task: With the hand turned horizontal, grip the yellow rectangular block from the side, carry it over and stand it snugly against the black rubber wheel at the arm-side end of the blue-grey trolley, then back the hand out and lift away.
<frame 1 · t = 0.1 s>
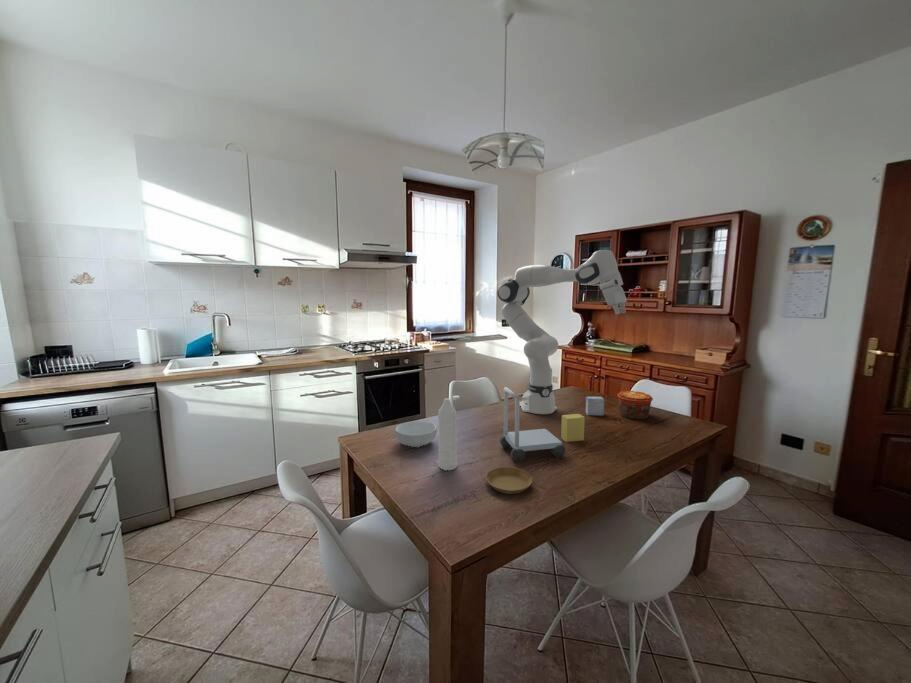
hand: (620, 313, 161), 52 cm above the table, tool tilted 20°, fingers open, 8 cm apart
cereal bowl: (416, 444, 150), on the table
medicine box: (594, 414, 184), on the table
yellow rectangular block: (572, 438, 153), on the table
water bottle: (450, 466, 130), on the table
plant saucer: (508, 485, 117), on the table
trolley: (531, 451, 141), on the table
food container: (633, 415, 181), on the table
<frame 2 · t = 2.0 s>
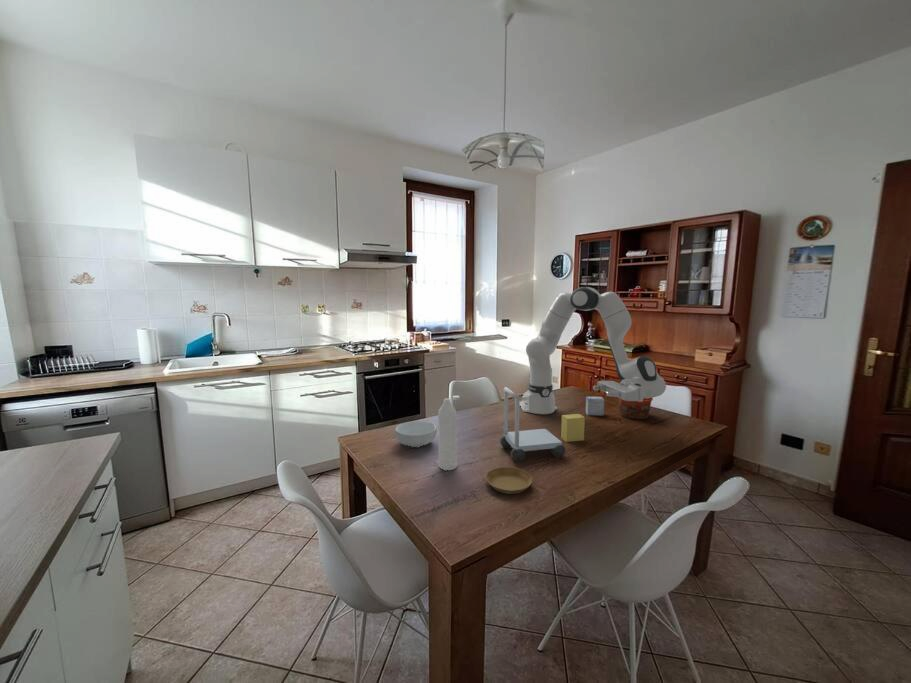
hand: (600, 391, 153), 20 cm above the table, tool horizontal, fingers open, 8 cm apart
nothing on the table moved.
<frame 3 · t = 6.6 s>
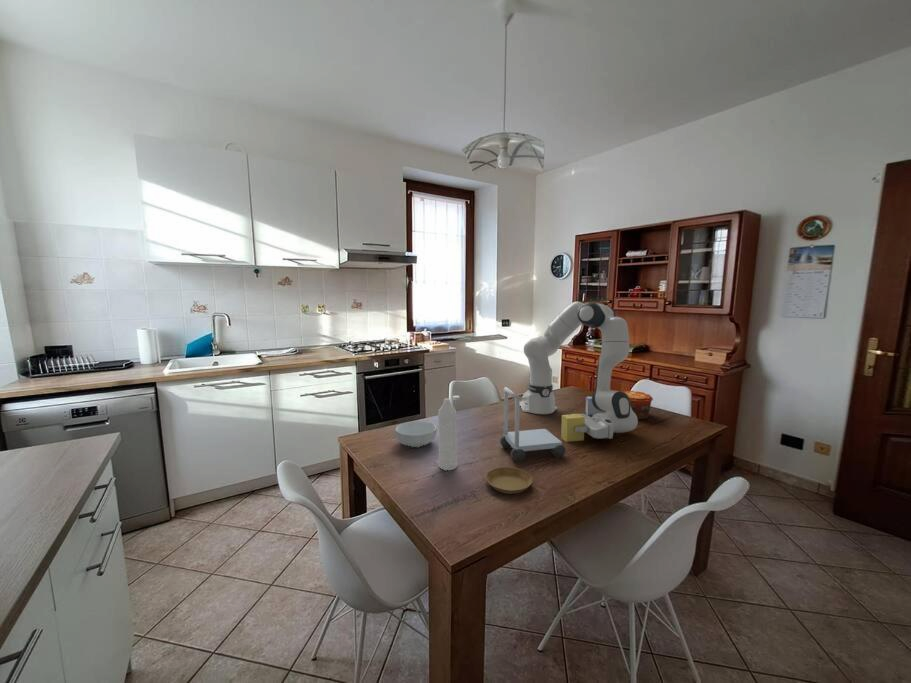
hand: (570, 426, 152), 6 cm above the table, tool horizontal, fingers closed on yellow rectangular block, 4 cm apart
yellow rectangular block: (572, 438, 153), on the table, touching gripper
everything else where it was.
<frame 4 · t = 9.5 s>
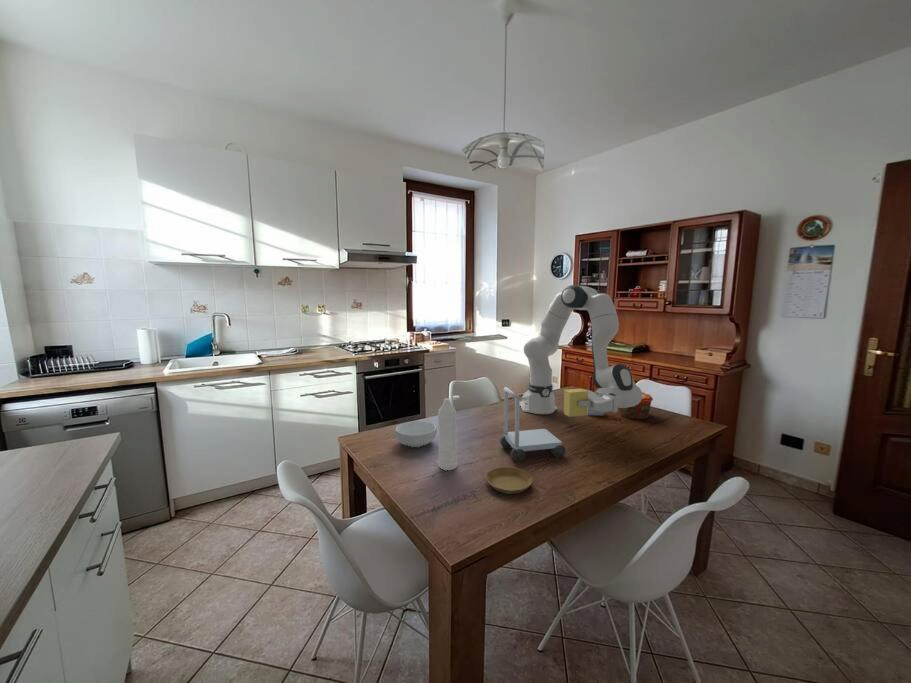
hand: (573, 401, 146), 18 cm above the table, tool horizontal, fingers closed on yellow rectangular block, 4 cm apart
yellow rectangular block: (575, 414, 147), point 12 cm above the table, touching gripper
everything else where it was.
when the fingers open (7 cm above the table, at t = 12.6 s): yellow rectangular block drops 1 cm, on the table.
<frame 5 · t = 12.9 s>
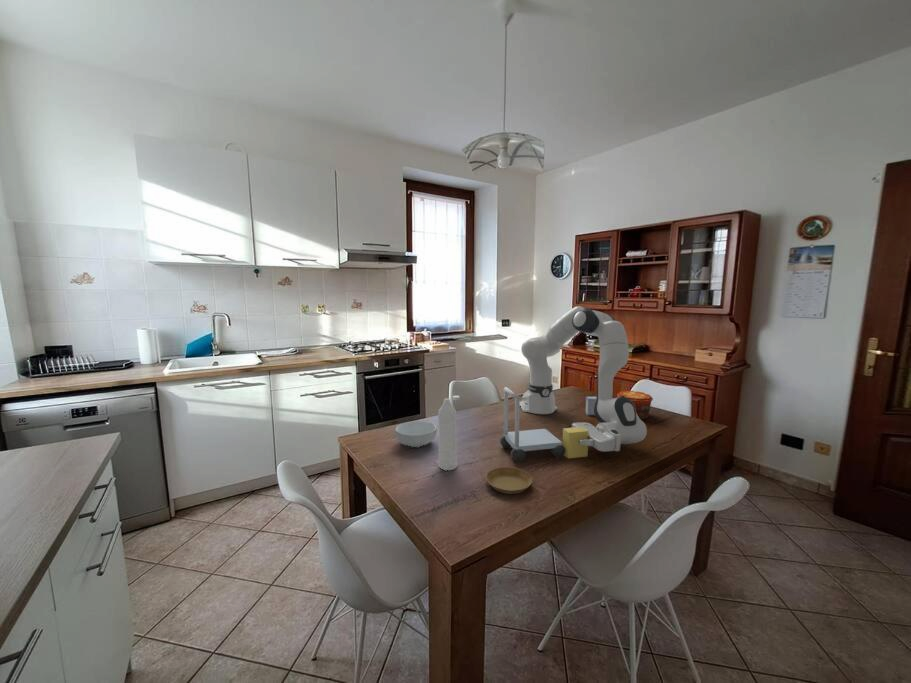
hand: (573, 437, 137), 7 cm above the table, tool horizontal, fingers open, 8 cm apart
yellow rectangular block: (574, 454, 138), on the table
everything else where it was.
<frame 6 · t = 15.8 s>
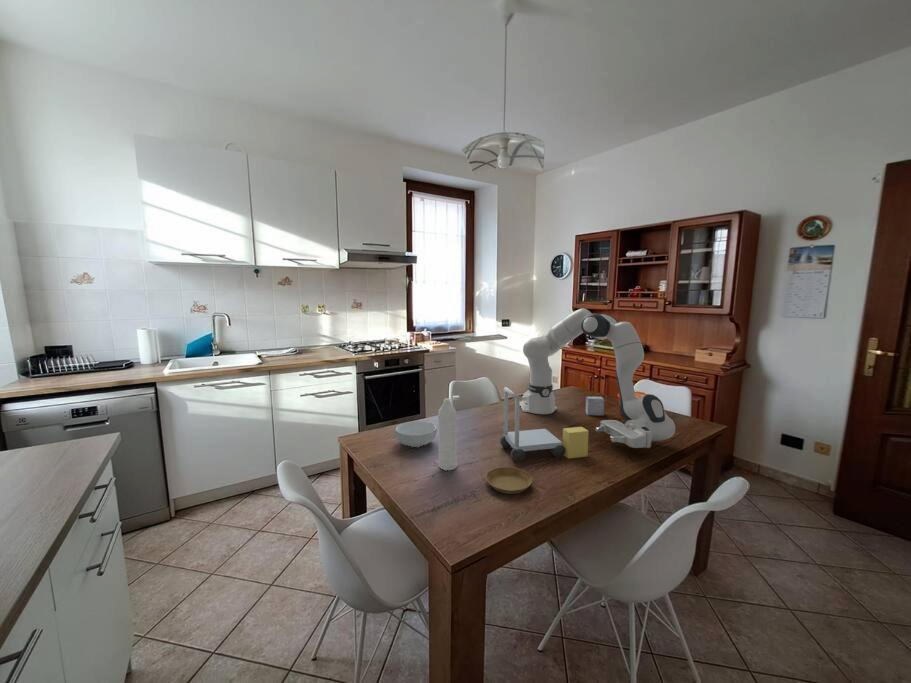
hand: (603, 434, 139), 7 cm above the table, tool horizontal, fingers open, 8 cm apart
nothing on the table moved.
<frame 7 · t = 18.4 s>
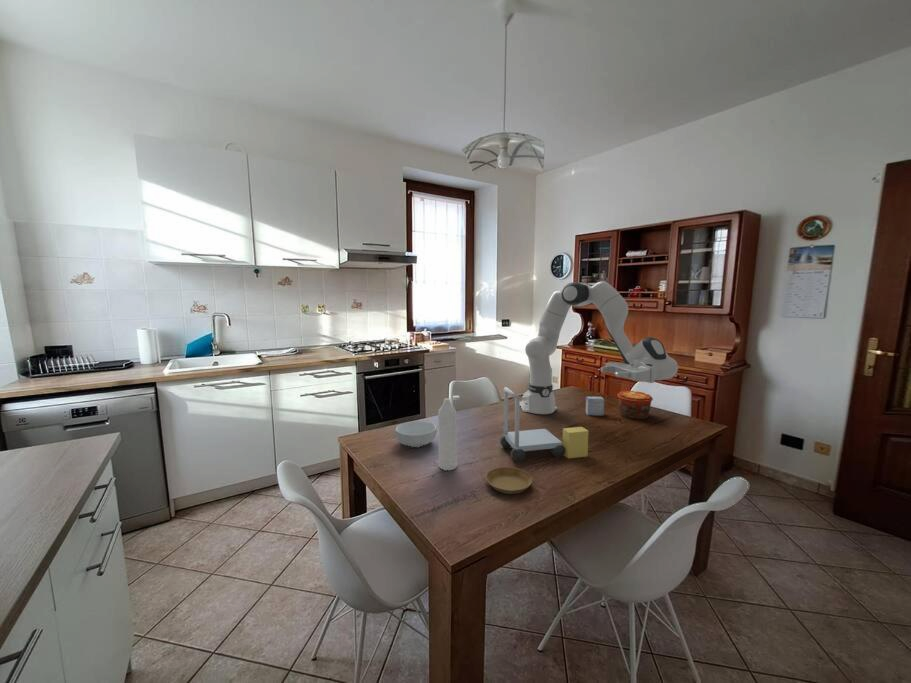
hand: (608, 372, 143), 30 cm above the table, tool horizontal, fingers open, 8 cm apart
nothing on the table moved.
at the end: yellow rectangular block 0.8 cm from the target spot on the table beside the trolley, on the table; yellow rectangular block tilted 0°; the gripper is holding nothing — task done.
